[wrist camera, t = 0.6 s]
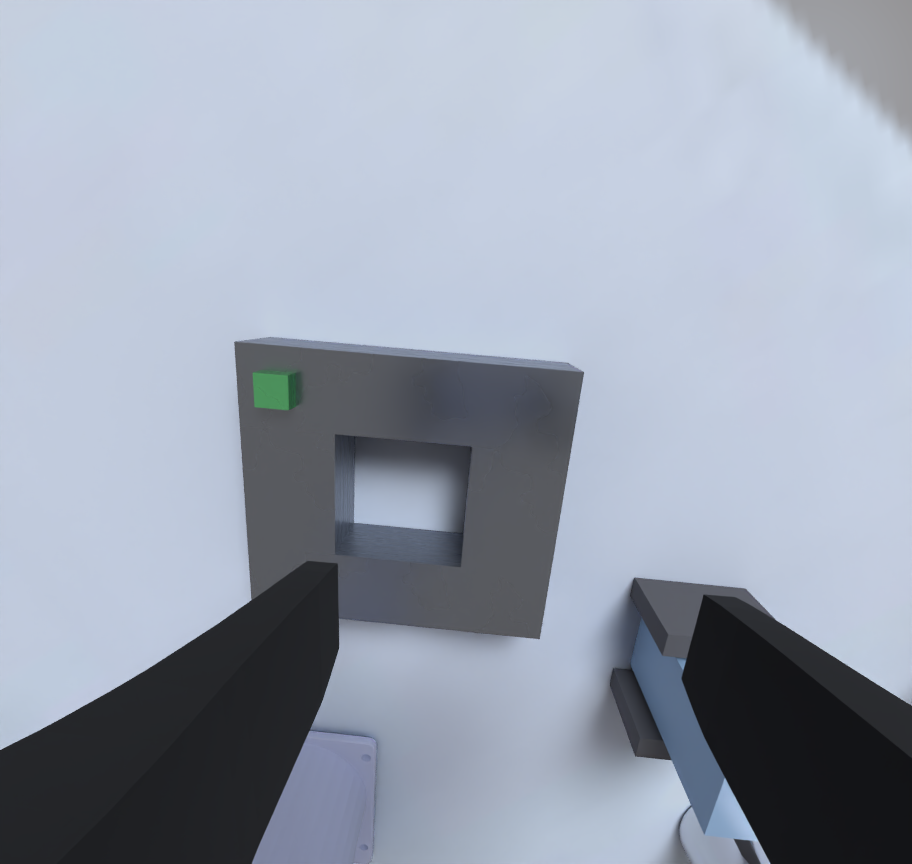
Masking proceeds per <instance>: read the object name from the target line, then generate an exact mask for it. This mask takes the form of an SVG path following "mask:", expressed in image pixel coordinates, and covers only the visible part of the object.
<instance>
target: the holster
mask: <svg viewBox="0 0 912 864" xmlns="http://www.w3.org/2000/svg"><path fill="white" fill-rule="evenodd" d="M704 594H705V595H717V596H729V597H736V598H738V599H740V600H742V601H744V602H746V603H748V604H749V605H751V606H753V607H755V608H756V609H758V610H760V611H761V612H763V613H765V614H766V615H768V616H770V617H771V618H773V617H772V616H771V615H770V614H769V612H768V611H767V610H766V609H765V608H764V607H763V606H762V605H761V604H760V603H759V602H758V601H757V600H756V599H755V598H754V597H753V596H752V595H751V594H750V593H749V592H748V591H747V590H746V589H743V588H733V587H723V586H713V585H703V584H693V583H682V582H672V581H662V580H652V579H642V578H635V579H634V583H633V587H632V592H631V598H632V600H633V602H634V604H635V606H636V608H637V609H638V611H639V613H640V615H641V617H642V619H643V621H644V622H645V624H646V626H647V628H648V630H649V632H650V634H651V636H652V637H653V639H654V641H655V643H656V645H657V647H658V649H659V650H660V652H661V654H662V656H668V657H677V658H687V655H688V651H689V647H690V644H691V640H692V636H693V632H694V629H695V625H696V621H697V618H698V614H699V610H700V606H701V603H702V599H703V595H704ZM773 619H774V618H773ZM610 686H611V689H612V692H613V695H614V698H615V700H616V703H617V706H618V709H619V712H620V715H621V717H622V720H623V723H624V726H625V729H626V731H627V734H628V737H629V740H630V743H631V746H632V748H633V751H634V754H635V756H637V757H646V758H656V759H665V760H672V759H671V757H670V755H669V753H668V750H667V748H666V746H665V743H664V741H663V739H662V736H661V734H660V732H659V729H658V727H657V725H656V723H655V720H654V718H653V716H652V713H651V711H650V709H649V706H648V704H647V702H646V699H645V697H644V695H643V693H642V690H641V688H640V686H639V683H638V681H637V679H636V676H635V674H634V672H633V671H631V670H622V669H613V673H612V678H611V682H610Z"/></svg>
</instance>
